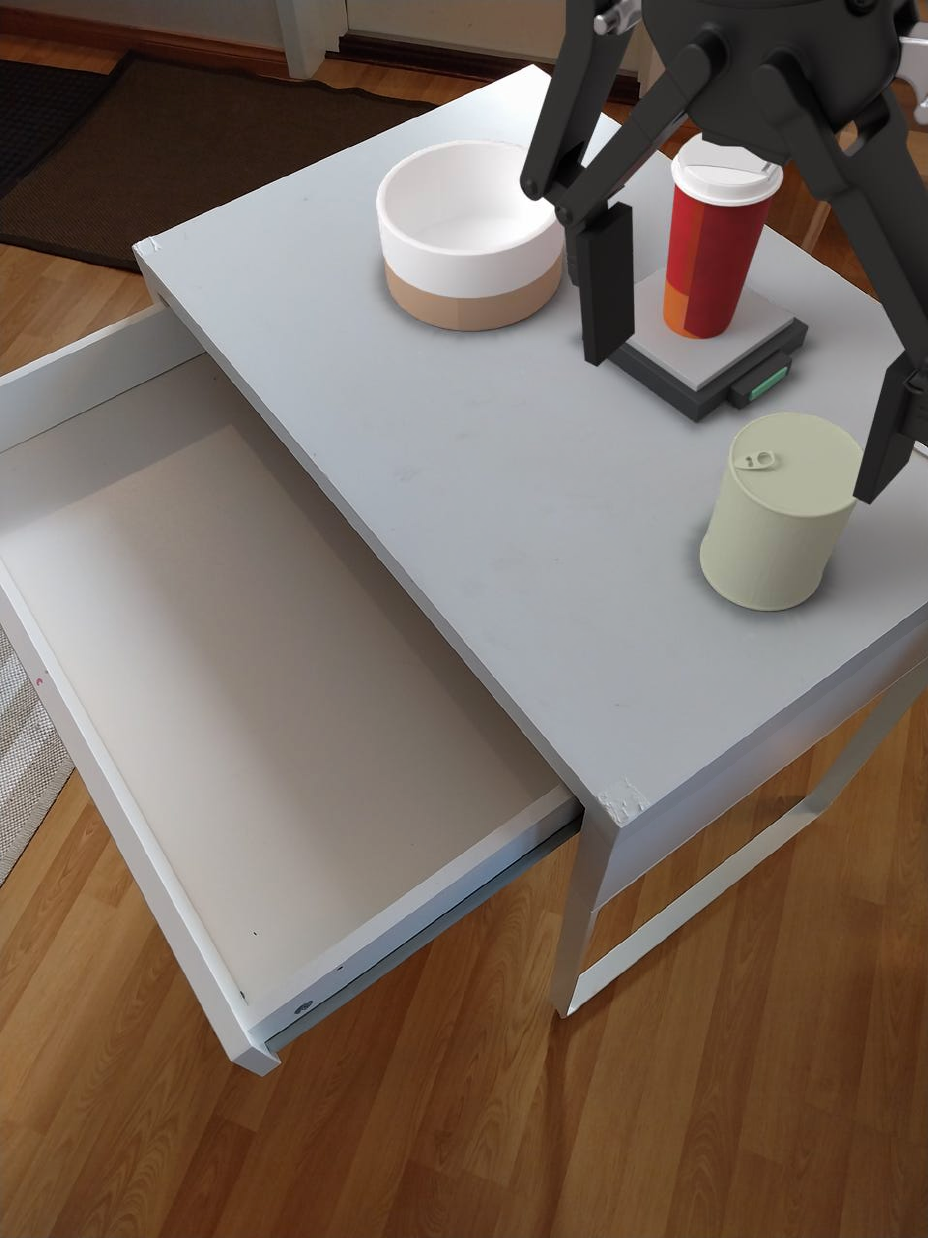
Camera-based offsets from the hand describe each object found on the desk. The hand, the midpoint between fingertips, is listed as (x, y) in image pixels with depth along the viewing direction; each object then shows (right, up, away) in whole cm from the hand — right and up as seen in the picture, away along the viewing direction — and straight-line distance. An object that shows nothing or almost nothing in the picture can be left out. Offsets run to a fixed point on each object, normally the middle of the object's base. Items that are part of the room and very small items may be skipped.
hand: (734, 408), depth 40 cm
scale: (+9, +16, +45) cm, 49 cm away
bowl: (-11, +25, +52) cm, 58 cm away
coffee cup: (+9, +18, +43) cm, 47 cm away
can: (+11, -5, +32) cm, 35 cm away
